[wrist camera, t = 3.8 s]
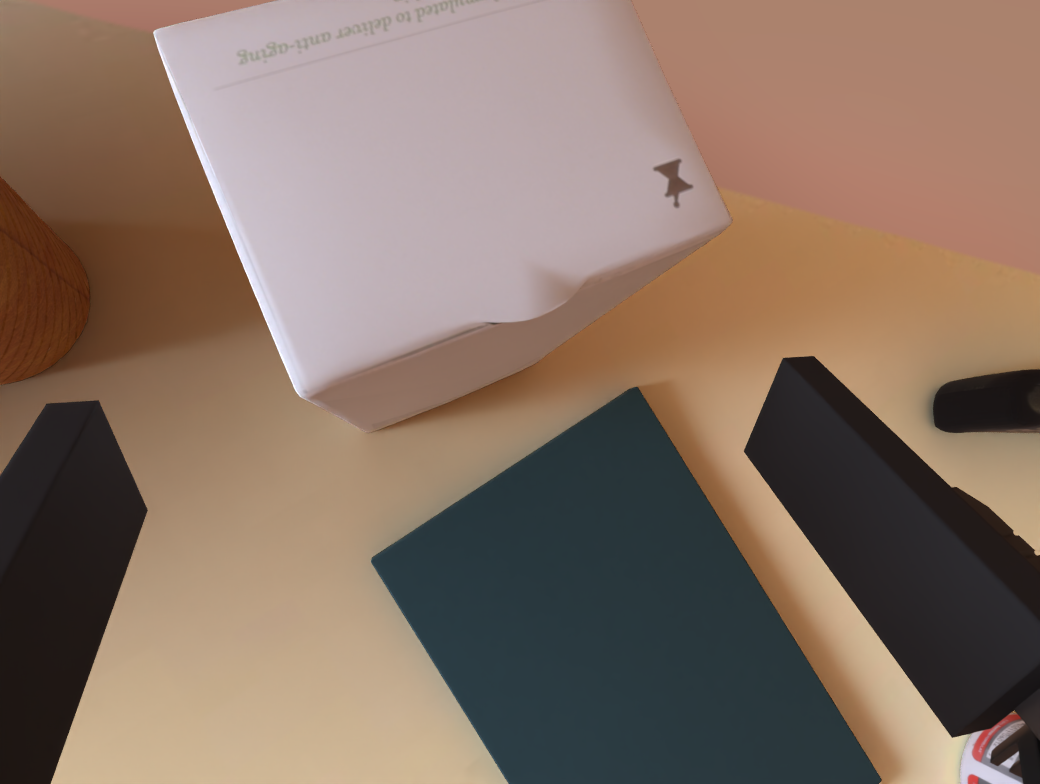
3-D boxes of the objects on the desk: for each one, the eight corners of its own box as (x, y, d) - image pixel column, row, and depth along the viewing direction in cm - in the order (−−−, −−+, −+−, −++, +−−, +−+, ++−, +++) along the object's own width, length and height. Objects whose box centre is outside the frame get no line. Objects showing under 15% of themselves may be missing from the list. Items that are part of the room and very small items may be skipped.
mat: (370, 557, 23) (369, 561, 22) (630, 388, 26) (637, 385, 26) (641, 994, 23) (650, 1012, 22) (868, 771, 26) (883, 780, 26)
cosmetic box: (486, 232, 26) (614, -103, 11) (546, 371, 26) (763, 227, 11) (296, 297, 24) (127, -3, 9) (359, 448, 24) (297, 408, 9)
